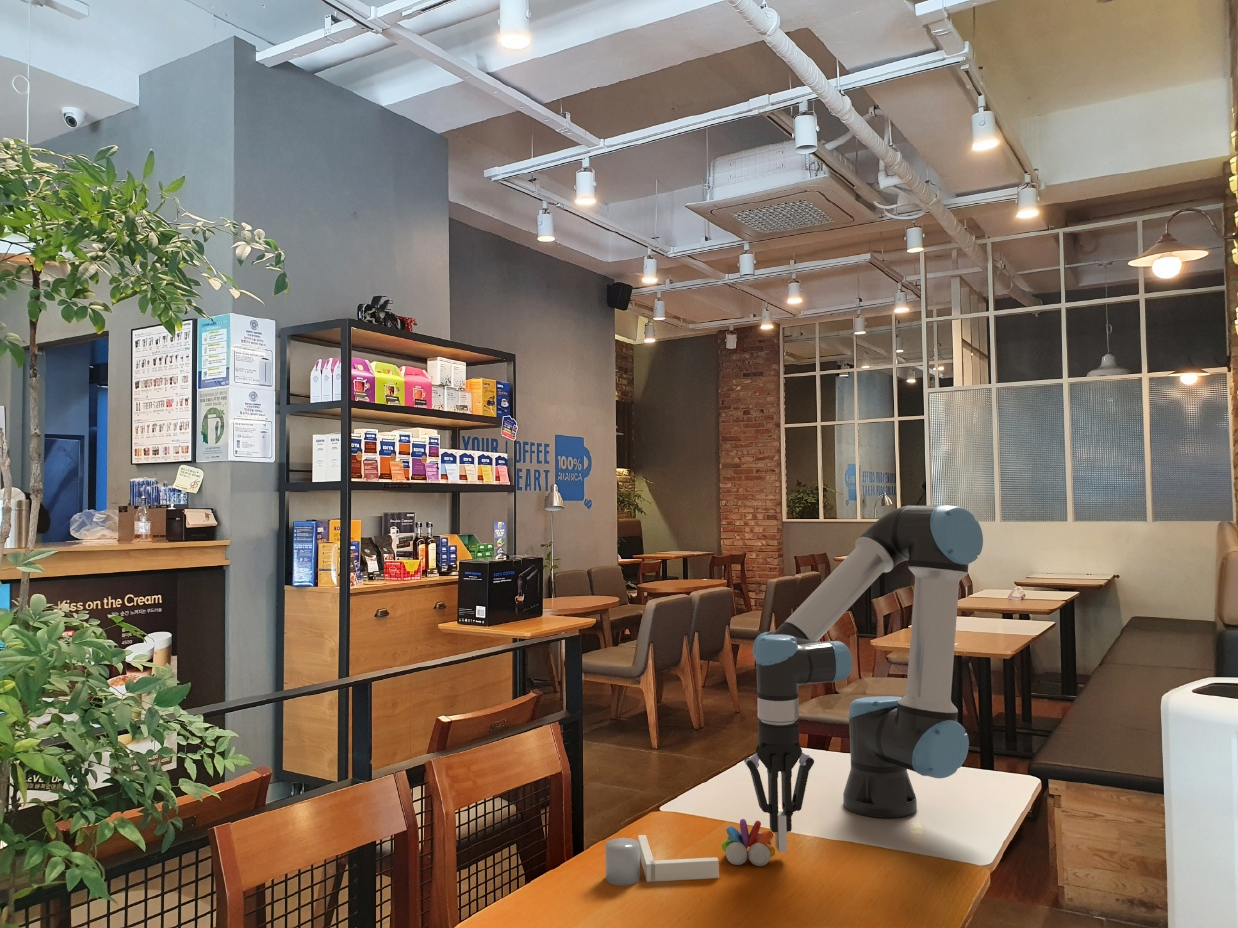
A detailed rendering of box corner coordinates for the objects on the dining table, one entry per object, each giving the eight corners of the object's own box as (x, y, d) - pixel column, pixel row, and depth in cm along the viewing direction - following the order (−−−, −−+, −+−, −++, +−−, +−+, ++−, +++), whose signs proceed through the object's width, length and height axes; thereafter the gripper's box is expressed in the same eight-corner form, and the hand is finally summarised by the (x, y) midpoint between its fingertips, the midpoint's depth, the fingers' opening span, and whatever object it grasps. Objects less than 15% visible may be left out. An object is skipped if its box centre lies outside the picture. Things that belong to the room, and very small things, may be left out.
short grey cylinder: (638, 870, 164) (637, 836, 165) (641, 884, 158) (641, 849, 159) (604, 872, 164) (604, 838, 164) (607, 886, 158) (606, 851, 158)
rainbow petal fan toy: (775, 870, 163) (774, 828, 164) (720, 867, 165) (719, 826, 165) (775, 852, 172) (774, 812, 172) (723, 849, 174) (722, 810, 174)
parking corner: (704, 847, 175) (704, 831, 175) (718, 877, 161) (718, 860, 161) (638, 851, 174) (637, 835, 174) (646, 881, 160) (646, 864, 160)
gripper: (806, 713, 174) (809, 839, 173) (739, 716, 173) (741, 843, 172) (818, 723, 167) (821, 855, 166) (748, 726, 165) (751, 858, 164)
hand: (781, 849), depth 169 cm, fingers closed
